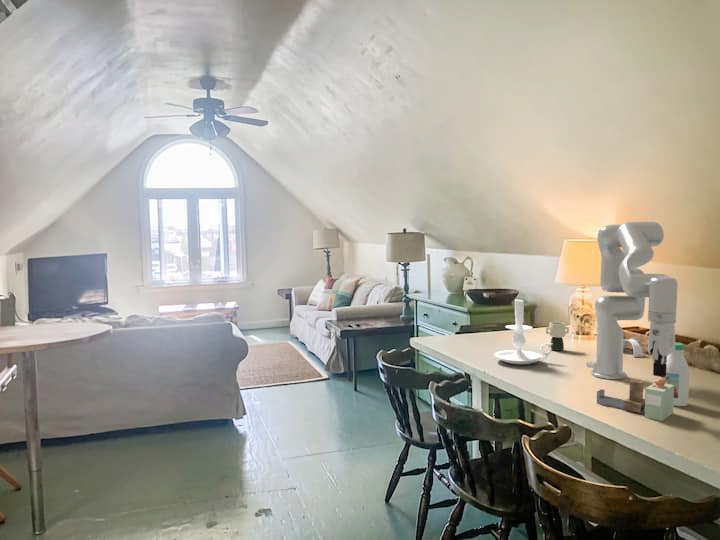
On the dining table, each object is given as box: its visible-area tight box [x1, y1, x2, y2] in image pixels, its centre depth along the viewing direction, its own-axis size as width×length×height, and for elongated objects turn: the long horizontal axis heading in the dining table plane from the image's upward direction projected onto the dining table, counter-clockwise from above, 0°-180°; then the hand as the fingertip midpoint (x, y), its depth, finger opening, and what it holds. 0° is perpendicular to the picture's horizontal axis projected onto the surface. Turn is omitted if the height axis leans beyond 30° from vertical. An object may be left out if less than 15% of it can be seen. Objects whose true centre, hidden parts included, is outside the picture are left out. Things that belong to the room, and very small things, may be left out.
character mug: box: [545, 321, 570, 351], centre depth 262 cm, size 11×7×13 cm, turn 90°
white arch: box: [623, 338, 644, 358], centre depth 258 cm, size 24×12×7 cm, turn 11°
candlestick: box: [493, 298, 553, 365], centre depth 238 cm, size 21×25×28 cm
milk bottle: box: [661, 342, 690, 407], centre depth 181 cm, size 8×8×20 cm
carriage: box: [623, 379, 645, 414], centre depth 175 cm, size 5×6×9 cm
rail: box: [596, 389, 645, 415], centre depth 178 cm, size 16×4×4 cm, turn 44°
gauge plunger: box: [654, 378, 666, 389], centre depth 170 cm, size 3×3×7 cm
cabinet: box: [644, 382, 674, 422], centre depth 170 cm, size 5×10×9 cm, turn 134°
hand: (659, 375), depth 170 cm, fingers closed
